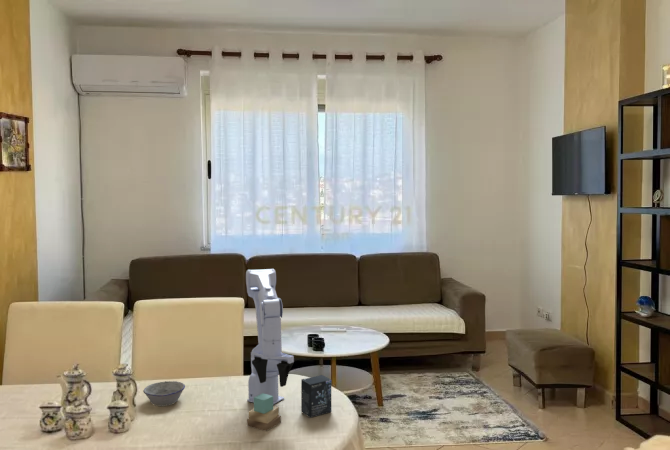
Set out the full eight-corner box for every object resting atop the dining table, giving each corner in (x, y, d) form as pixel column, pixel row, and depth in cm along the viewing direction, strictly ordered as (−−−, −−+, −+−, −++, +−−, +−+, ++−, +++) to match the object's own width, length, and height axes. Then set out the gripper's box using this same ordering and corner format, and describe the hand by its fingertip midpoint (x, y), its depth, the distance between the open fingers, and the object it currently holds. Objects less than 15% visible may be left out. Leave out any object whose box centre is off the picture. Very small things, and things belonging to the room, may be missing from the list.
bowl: (177, 409, 181) (176, 394, 181) (137, 408, 182) (137, 394, 182) (190, 394, 194) (190, 380, 194) (153, 393, 195) (153, 379, 195)
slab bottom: (247, 427, 169) (247, 419, 169) (262, 418, 175) (262, 410, 175) (266, 432, 165) (266, 424, 165) (280, 423, 171) (280, 415, 171)
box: (310, 418, 174) (310, 384, 173) (301, 412, 178) (300, 379, 178) (332, 412, 178) (331, 379, 177) (322, 406, 183) (322, 374, 182)
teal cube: (253, 410, 169) (253, 397, 168) (263, 406, 172) (262, 393, 171) (264, 413, 166) (264, 400, 166) (273, 409, 170) (273, 396, 169)
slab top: (248, 419, 168) (248, 411, 168) (260, 411, 174) (259, 403, 174) (267, 423, 166) (267, 415, 165) (278, 415, 171) (278, 406, 171)
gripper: (244, 339, 174) (245, 384, 174) (283, 344, 166) (284, 391, 167) (259, 334, 180) (260, 378, 180) (297, 339, 172) (298, 384, 173)
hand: (272, 384), depth 174 cm, fingers open, 7 cm apart
